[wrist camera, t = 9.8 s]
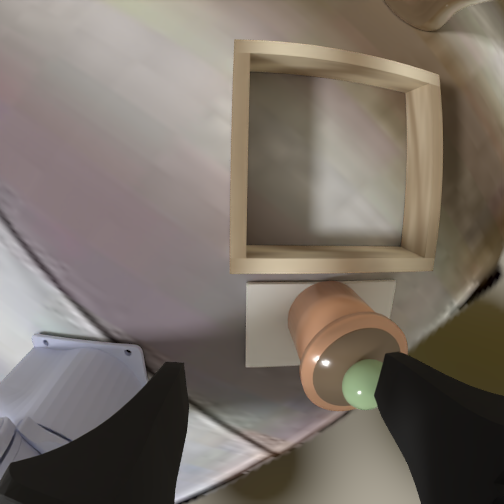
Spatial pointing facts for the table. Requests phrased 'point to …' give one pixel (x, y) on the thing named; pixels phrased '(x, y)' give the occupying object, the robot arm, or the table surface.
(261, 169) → the table surface
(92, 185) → the table surface
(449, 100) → the table surface
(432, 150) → the frame
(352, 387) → the terracotta pot
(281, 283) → the grey mat
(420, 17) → the silver drink can
